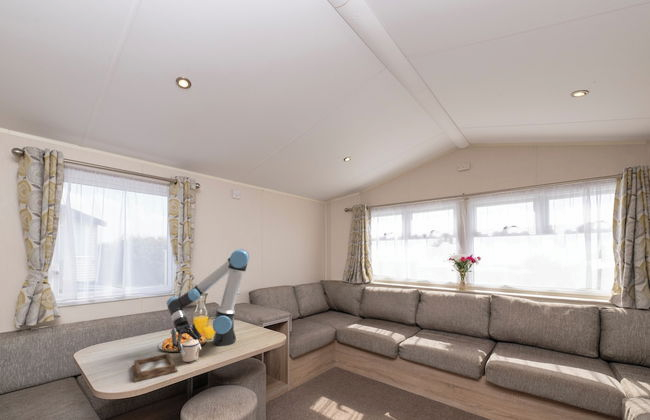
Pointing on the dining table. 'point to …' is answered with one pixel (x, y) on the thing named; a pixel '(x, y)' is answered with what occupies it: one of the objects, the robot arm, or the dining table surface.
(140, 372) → the wooden serving tray
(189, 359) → the teacup with lid
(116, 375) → the dining table surface
